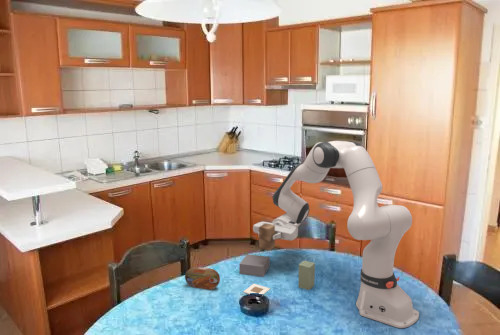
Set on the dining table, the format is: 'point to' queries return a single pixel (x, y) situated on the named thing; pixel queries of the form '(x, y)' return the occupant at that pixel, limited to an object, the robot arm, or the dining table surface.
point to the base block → (254, 265)
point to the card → (256, 289)
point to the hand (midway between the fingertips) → (266, 236)
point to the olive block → (306, 275)
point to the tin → (202, 278)
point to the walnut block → (266, 237)
